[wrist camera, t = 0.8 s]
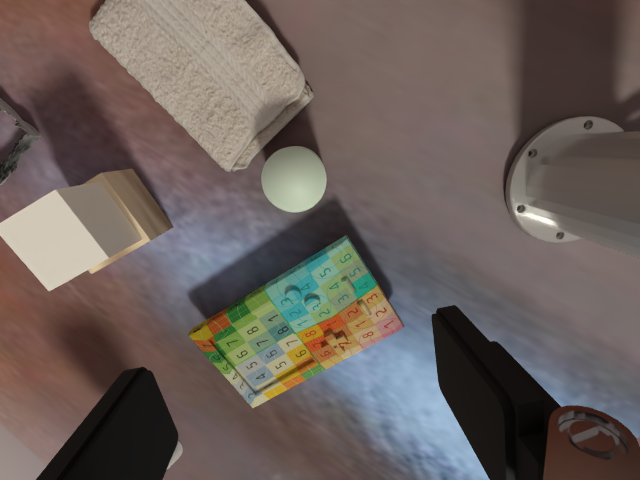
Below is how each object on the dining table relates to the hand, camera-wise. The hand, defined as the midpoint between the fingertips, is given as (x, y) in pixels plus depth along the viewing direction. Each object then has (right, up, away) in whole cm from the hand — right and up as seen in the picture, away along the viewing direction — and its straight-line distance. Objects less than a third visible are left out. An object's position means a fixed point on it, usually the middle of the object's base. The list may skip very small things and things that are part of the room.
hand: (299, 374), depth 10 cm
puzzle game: (-2, -4, +27) cm, 28 cm away
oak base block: (-20, +7, +23) cm, 31 cm away
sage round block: (-2, +11, +22) cm, 25 cm away
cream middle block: (-20, +6, +19) cm, 28 cm away
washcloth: (-10, +21, +20) cm, 31 cm away
